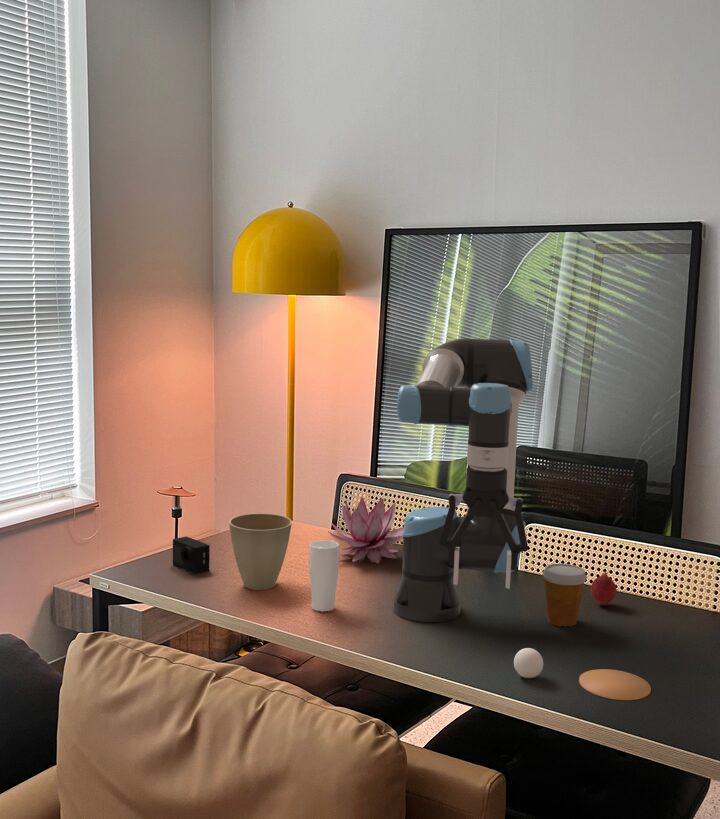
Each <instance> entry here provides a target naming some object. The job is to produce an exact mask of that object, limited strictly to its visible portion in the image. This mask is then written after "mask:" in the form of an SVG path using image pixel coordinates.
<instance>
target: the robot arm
mask: <svg viewBox="0 0 720 819" xmlns="http://www.w3.org/2000/svg"><path fill="white" fill-rule="evenodd" d="M421 367H422V368H421V369H422V373H421V375H420V377H419V379H418V380H417V384H405V385H401V386H400V387H399V390H398V393H397V399H396V400H397V402H396V403H397V405H396V406H397V407H396V409H397V410H396V412H397V418H398V421H400V422H401V423H409V424H413V425H437V426H438V425H439V426H454V427H455V426H456V427H457V426H458V427H468V440H467V456H466V464H467V465H468V467H467V468H466V473H465V476H466V478H465V490H464V491H463V493H459V494H458V493H457V494H456V493H454V492H451V493H449V494H448V495H449V496H448V507H447V506H430V507H423V508H418V509H415V510H413V511H411V512H409V513H408V514H407V515H406V516H405V517H404V522H403V527H404V531H403V534H402V536H403V539H402V543H403V544H402V563H401V564H402V566H401V567H402V569H401V577H400V581H399V583H398V586H397V587H396V588H397V589H396V591H395V594H394V596H393V599H392V600H393V601H392V604H393V606H392V609H393V612H394V613H395V614H396V615H397V616H399V617H401V618H403V619H407V620H410V621H415V622H421V623H422V622H423V623H440V622H446V621H451V620H453V619H455V618H457V617H459V615H460V614H461V601H460V597H459V593H458V590H457V585H458V583H459V571H460V570H468V571H480V572H490V573H491V572H492V573H494V574H497V573H505V589H509V590H510V588H511V574H512V573H513V572H515V571H517V569H518V567H519V562H520V556H521V553H522V552H523V553H526V552H527V551H528V550H529V546H528V545H529V544H528V539H527V533H526V521H524V518H523V513H522V509H523V504H524V501H523V500H524V499H523V498H522V497H520V496H518V497H514V496H515V495H514V494H515V481H516V480H515V479H516V478H515V476H516V461H517V460H516V459H517V441H518V426H519V409H520V408H519V407H520V404H521V403H522V402H523V401H524V400H525V399H526V398H527V392H531V391H532V390H533V388H534V387H533V386H534V385H533V382H534V381H533V380H534V379H533V364H532V355H531V348H530V346H529V344H528V343H527V342H526V341H522V340H513V339H511V338H508V339H490V338H489V339H488V338H466V337H465V338H458V339H453V340H450V341H448V342H445V343H442V344H440V345H438V346H436V347H435V348H433V349H432V350H431V351H430V352H429V353H428V354H427V355H426V357H425V359H424V360H423V362H422V366H421ZM462 501H463V502H464V503H465V505H466V506H467V511H466V514H465V515H464V516H458V512H457V510H456V509H457V507H459V506H460V504H461V502H462Z"/></svg>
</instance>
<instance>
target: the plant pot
mask: <svg viewBox="0 0 720 819" xmlns="http://www.w3.org/2000/svg"><path fill="white" fill-rule="evenodd" d="M292 524H293V521H292V519H291V518H289V517H287V516H285V515H281V514H274V513H258V512H257V513H247V514H239V515H237V516H233V517H232V518H230V519H229V521H228V525H229V532H230V533H229V534H230V539H231V545H232V549H233V550H232V551H233V553H234V554H233V555H234V558H235V561H236V566H237V569H238V572H239V575H240V578H241V581H242V583H243V585H244V587H245V588H247V589H249V590H253V591H254V590H255V591H264V590H265V589H266V590H269V589H272V588H274V587H275V585H276V583H277V580H278V578H279V576H280V573H281V570H282V566H283V563H284V560H285V557H286V554H287V549H288V547H289V546H288V545H289V541H290V537H291V532H292V531H291V529H292ZM266 590H265V591H266Z"/></svg>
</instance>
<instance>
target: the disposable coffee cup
mask: <svg viewBox="0 0 720 819" xmlns="http://www.w3.org/2000/svg"><path fill="white" fill-rule="evenodd" d="M542 576H543V579H544V589H545V590H544V591H545V604H546V618H547V619H546V620H547V622H548V623H549V624H551V625H553V626H556V625H557V626H556V627H561V626H565V627H566V626H570V627H574V626H576V625H577V622H578V617H579V611H580V605H581V600H582V596H583V591H584V585H585V583H586V580H587V579H588V576H587V574H586V570H585V569H584V568H583V567H581V566H578V565H575V564H570V563H551V564H550V563H549V564H548V565H546V566H545V567H544V570H543V571H542ZM575 624H576V625H575ZM573 625H574V626H573ZM565 627H564V628H565ZM566 628H567V627H566Z"/></svg>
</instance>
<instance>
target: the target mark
mask: <svg viewBox="0 0 720 819" xmlns="http://www.w3.org/2000/svg"><path fill="white" fill-rule="evenodd" d="M578 683H579V685H580V686H581V688H583V689H584V690H585V691H587V692H589V693H590V694H593V695H595V696H598V697H602V698H604V699H609V700H614V701H615V700H616V701H636V700H640V699H644V698H646V697H648V696H649V695H650V694H651V691H652V689H651V685H650V684H649V682H648V681H647V680H645V679H643V678H642V677H640V676H638V675H636V674H633V673H631V672H627V671H623V670H619V669H611V668H610V669H609V668H599V669H591V670H587V671H584V672H582V673H581V674H580V675H579V677H578Z"/></svg>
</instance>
